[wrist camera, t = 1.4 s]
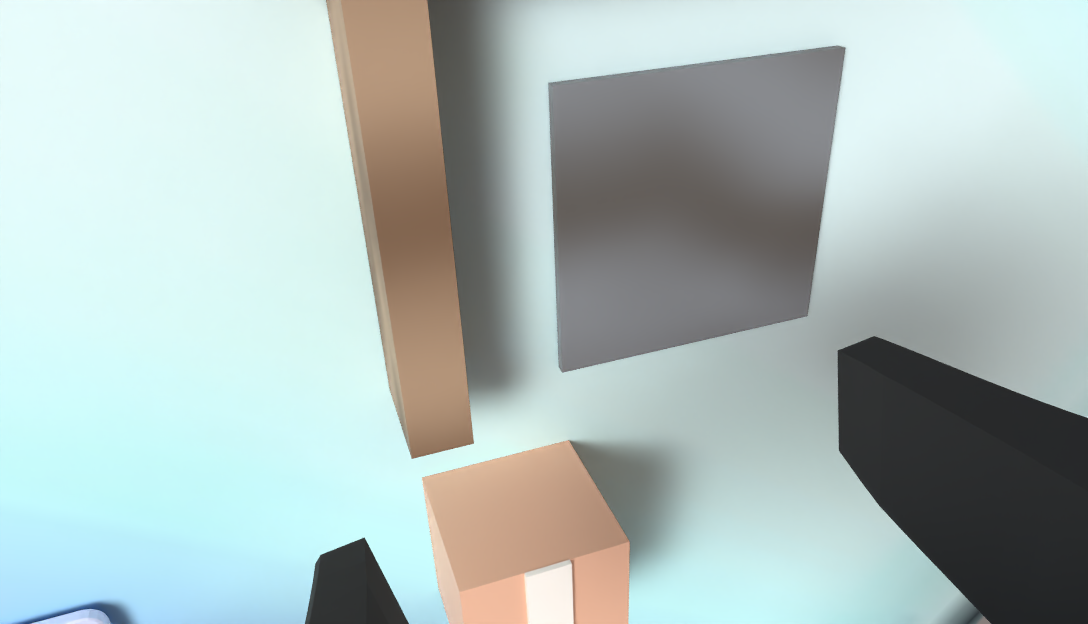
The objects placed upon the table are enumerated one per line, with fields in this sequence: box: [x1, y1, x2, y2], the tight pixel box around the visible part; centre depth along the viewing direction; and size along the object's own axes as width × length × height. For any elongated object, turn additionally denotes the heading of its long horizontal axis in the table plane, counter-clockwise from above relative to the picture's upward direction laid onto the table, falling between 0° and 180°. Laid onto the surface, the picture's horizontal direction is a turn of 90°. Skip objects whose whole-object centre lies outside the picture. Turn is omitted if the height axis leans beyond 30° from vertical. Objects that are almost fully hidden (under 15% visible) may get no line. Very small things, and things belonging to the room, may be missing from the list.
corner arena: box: [326, 0, 845, 459], centre depth 19 cm, size 13×18×3 cm
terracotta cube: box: [422, 440, 630, 624], centre depth 23 cm, size 4×4×5 cm
